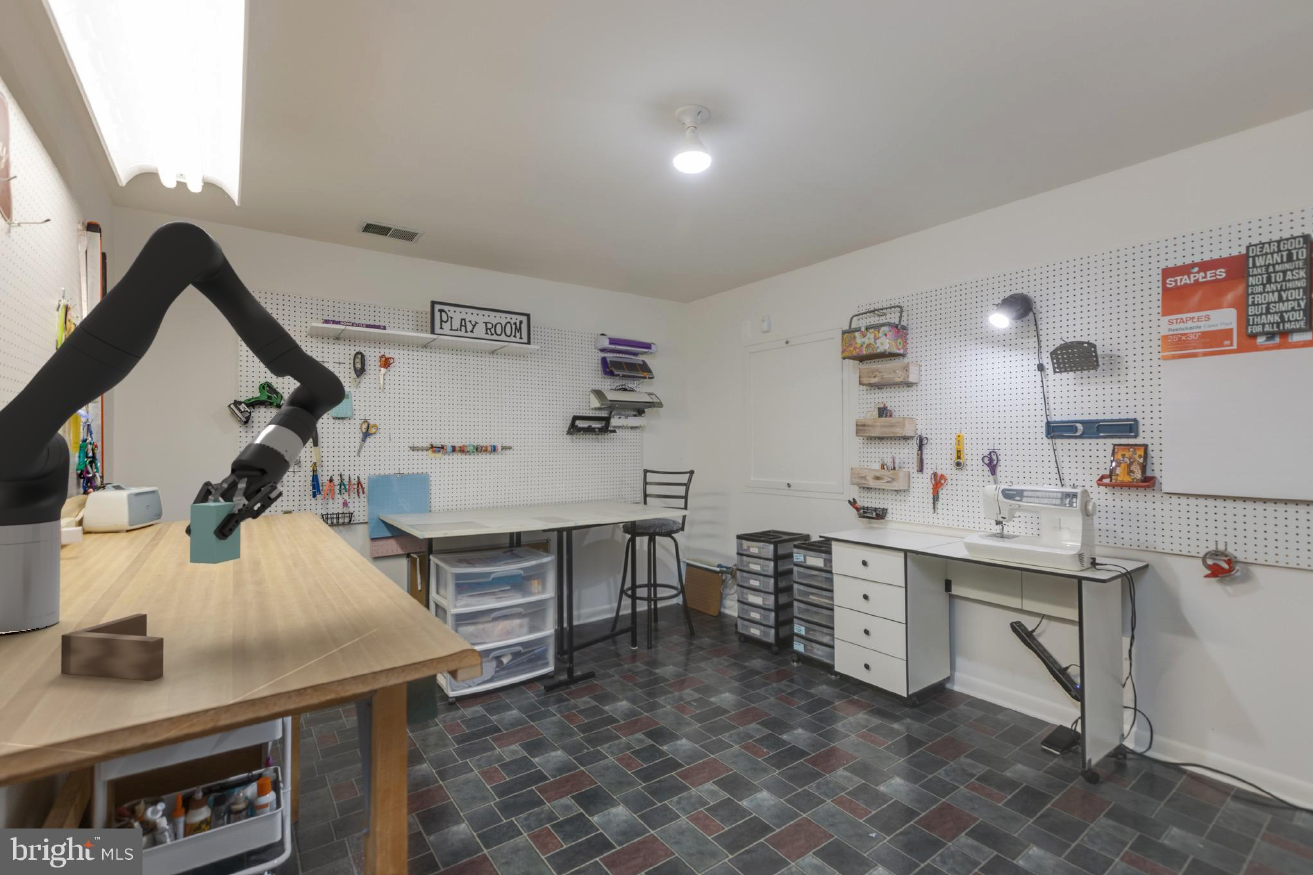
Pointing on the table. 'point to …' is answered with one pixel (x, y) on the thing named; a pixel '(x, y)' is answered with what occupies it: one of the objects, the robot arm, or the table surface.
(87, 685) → the table surface
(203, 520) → the teal block
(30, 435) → the robot arm
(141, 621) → the walnut corner
